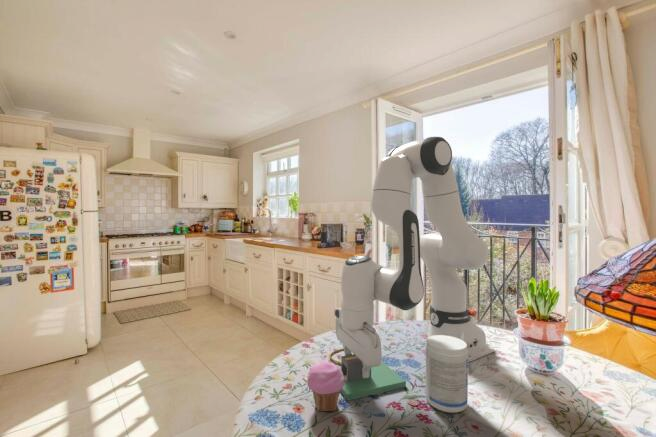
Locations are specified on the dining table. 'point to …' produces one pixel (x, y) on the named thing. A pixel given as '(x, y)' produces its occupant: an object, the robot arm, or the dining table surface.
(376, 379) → the header board
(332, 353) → the extension cord
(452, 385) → the supplement tub
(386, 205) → the robot arm
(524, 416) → the dining table surface
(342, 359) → the box
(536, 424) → the dining table surface
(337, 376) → the cupcake
